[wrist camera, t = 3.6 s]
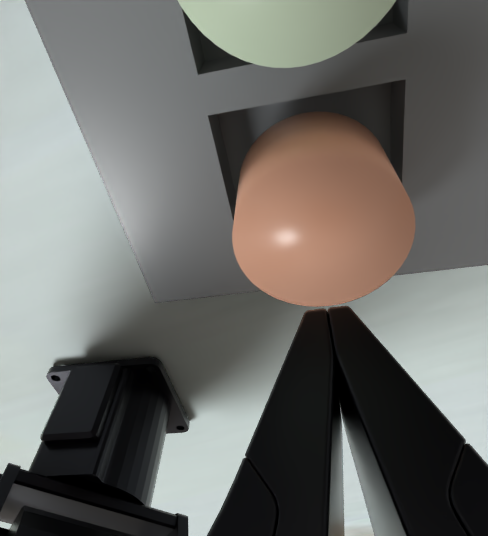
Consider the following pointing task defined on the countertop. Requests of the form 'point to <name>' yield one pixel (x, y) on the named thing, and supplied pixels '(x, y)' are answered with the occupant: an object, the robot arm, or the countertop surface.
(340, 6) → the sage button
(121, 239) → the countertop surface
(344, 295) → the terracotta button
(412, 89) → the panel
